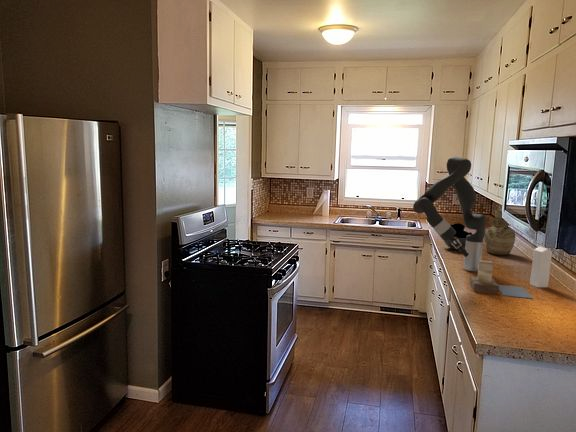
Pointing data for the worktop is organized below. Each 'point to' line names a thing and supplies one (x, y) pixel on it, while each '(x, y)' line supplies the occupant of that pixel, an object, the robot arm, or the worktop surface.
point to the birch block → (485, 271)
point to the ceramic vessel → (499, 236)
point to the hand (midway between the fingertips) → (466, 253)
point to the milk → (540, 267)
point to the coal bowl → (458, 235)
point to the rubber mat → (514, 291)
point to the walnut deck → (484, 286)
